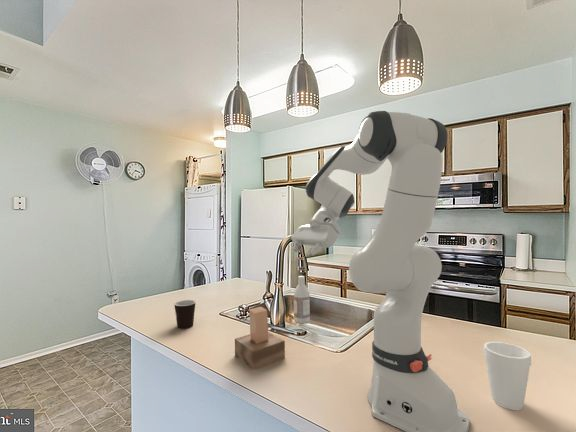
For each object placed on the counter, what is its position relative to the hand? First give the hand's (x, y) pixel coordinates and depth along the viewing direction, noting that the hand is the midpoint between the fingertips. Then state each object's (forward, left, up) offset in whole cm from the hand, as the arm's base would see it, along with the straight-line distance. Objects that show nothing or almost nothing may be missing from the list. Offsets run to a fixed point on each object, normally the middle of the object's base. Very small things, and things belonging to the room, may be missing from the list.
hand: (302, 252), depth 108 cm
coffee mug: (+47, +26, -34) cm, 63 cm away
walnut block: (+2, +17, -34) cm, 38 cm away
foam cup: (-57, -18, -34) cm, 69 cm away
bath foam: (+18, -15, -34) cm, 41 cm away
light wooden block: (+2, +17, -28) cm, 33 cm away
